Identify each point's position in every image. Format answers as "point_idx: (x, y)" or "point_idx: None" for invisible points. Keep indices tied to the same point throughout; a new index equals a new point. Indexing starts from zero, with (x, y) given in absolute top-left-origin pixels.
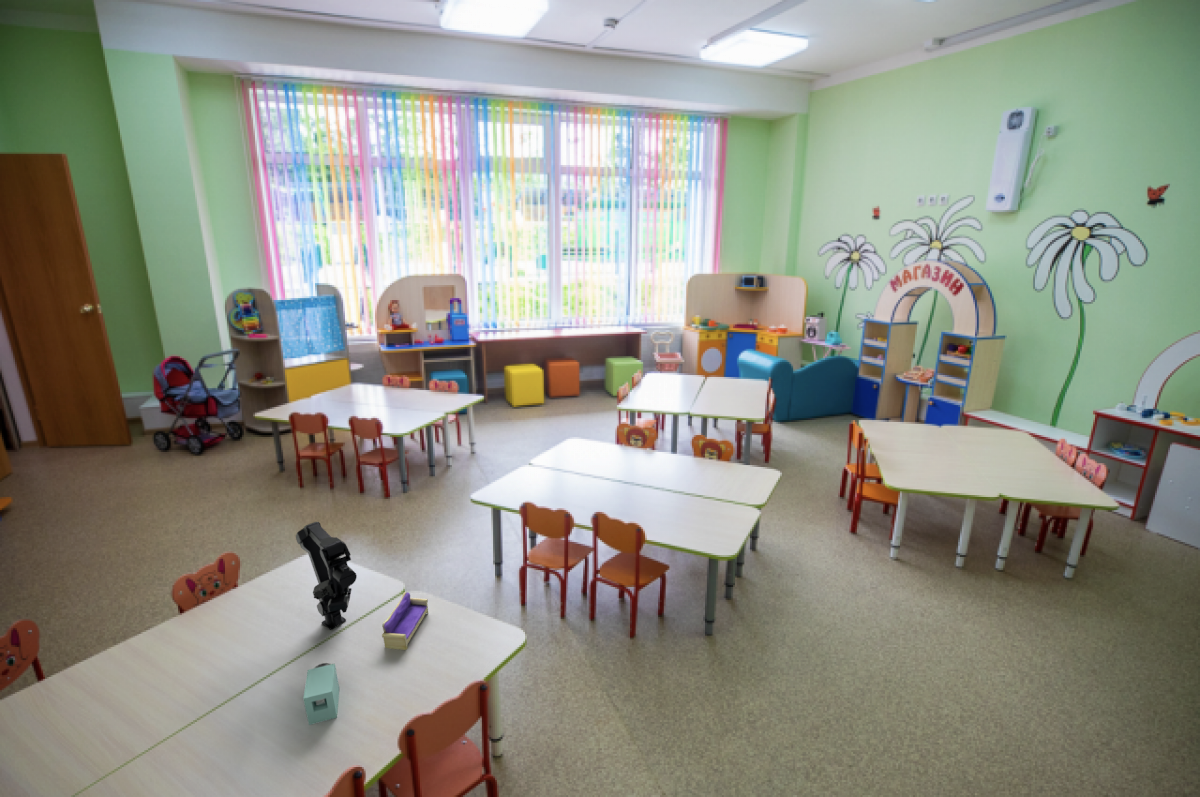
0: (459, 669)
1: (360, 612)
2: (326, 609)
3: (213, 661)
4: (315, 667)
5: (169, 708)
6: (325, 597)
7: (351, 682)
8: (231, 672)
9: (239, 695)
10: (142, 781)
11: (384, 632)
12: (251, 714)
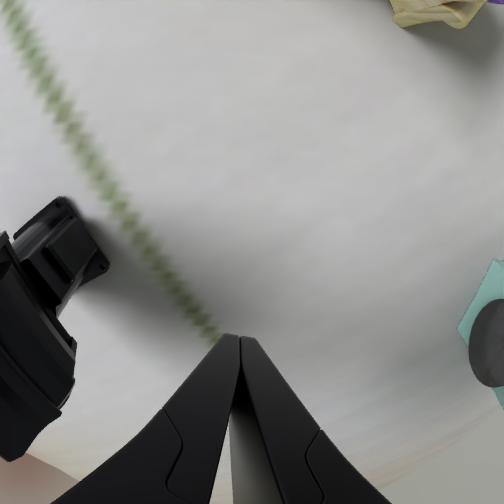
0: None
1: (24, 124)
2: (73, 378)
3: None
4: (499, 386)
5: None
6: (18, 434)
7: (498, 219)
8: (222, 458)
9: None
10: (400, 476)
11: (445, 2)
12: (395, 424)
